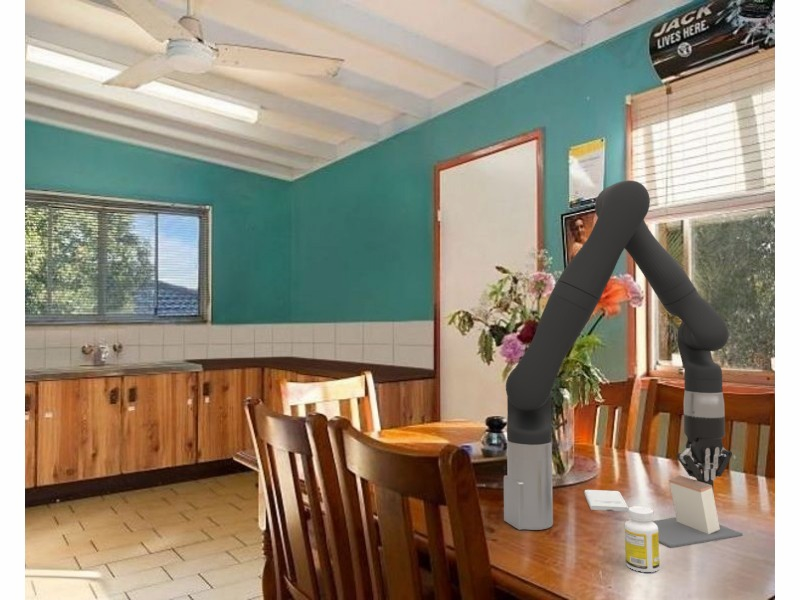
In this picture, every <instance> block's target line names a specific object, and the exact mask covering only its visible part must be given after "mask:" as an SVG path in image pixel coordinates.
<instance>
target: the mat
mask: <svg viewBox="0 0 800 600" xmlns="http://www.w3.org/2000/svg"><path fill="white" fill-rule="evenodd" d="M652 522H654V523H655V524H656V525H657V527H658V537H659V544H660V545H664V546H666V547H667V548H670V549H671V548H672V547H673V548H678V547H677V546H679V547H683V545H684V546H689V544H690V545H695V544H700V543H707V541H708V542H712V541H718V540H723V539H724V540H726V539H730V538H735V537H741V536H743V534H744V533H742V532H740V531H737V530H735V529H733V528H729V527H727V526H725V525H721V524H719V527H720V529H719V530H717V531H715V532H713V533H710V534H707V533H704V532H702V531H699V530H697V529H694V528H692V527H689V526H687V525H684V524H682V523H679V522H677V519H676V517H672V518H664V519H658V520H652ZM673 548H672V549H673Z"/></svg>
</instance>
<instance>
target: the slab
mask: <svg viewBox="0 0 800 600" xmlns="http://www.w3.org/2000/svg"><path fill="white" fill-rule="evenodd" d="M668 481H669V486H670V491H671V492H670V493H671V496H672V503H673V507H674V512H675V518H676V519H677V522H679V523H682V524H684V525H687V526H689V527H692V528H694V529H697V530H699V531H702V532H704V533H707V534H710V533H713V532H715V531H717V530H719V529H720V527H719V525H720V523H719V517H718V512H717V505H716V502H715V496H714V488H713V489H712V485H709V484H706V483H703V482H700V481H697V479H693V478H690V477H686V476H683V475H677V476H674V477H671V478H670V479H668Z"/></svg>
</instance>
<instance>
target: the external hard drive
mask: <svg viewBox="0 0 800 600" xmlns="http://www.w3.org/2000/svg"><path fill="white" fill-rule="evenodd" d="M584 496H585V498H586V501H587V504H588V506H589V509H590V510H591V511H613V512H627V513H629V508H630V507H629V506H628V504H627V503H626V501H625V499H624V497H623V496H622V494H621V492H620V491H618V490H606V489H605V490H601V489H585V490H584Z"/></svg>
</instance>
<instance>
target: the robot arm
mask: <svg viewBox="0 0 800 600" xmlns="http://www.w3.org/2000/svg"><path fill="white" fill-rule="evenodd" d="M650 199H651V198H650V194H649V192H648V189H647V188H646V187H645V185H643V184H642V183H640V182H638V181H635V180H623V181H618V182H616V183H613V184H611V185H609V186H607V187H606V188H604V189H602V190H601V191H600V192H599V194H598V196H597V197H596V200H595V203H594V212H595V214H596V216H597V219H596V221H595V223H594V226H593V227H592V229H591V232H590V233H589V236H588V237H587V239H586V240H585V241H584V243H583V245H582V246H581V248H580V249H579V250H578V251H577V253H576V254H575V255H574V256H573V257H572V258H571V260H570V262H569V263H568V264H567V265H566V267H564V269H563V271H562V273H561V274H560V276H559V278H558V279H557V281H556V283H555V285H554V287H553V289H552V291H551V293H550V295H549V296H548V300H547V301H546V303H545V306H544V308H543V311H542V314H541V316H540V319H539V322H538V324H537V327H536V330H535V334H534V335H533V337H532V341H531V342H530V344H529V346H528V347H527V349H526V351H525V352H524V354H523V356H522V357H521V359H520V360H519V361H518V363H517V364H516V366H515V367H514V368H513V369H512V370H511V372H509V375H508V376H507V378H506V381H505V392H506V396H507V397H506V399H507V400H506V403H507V405H506V406H507V407H506V408H507V415H506V417H507V418H506V420H507V422H506V438H507V439H506V449H507V450H506V451H507V452H506V453H507V454H506V457H507V459H506V462H507V463H506V464H507V466H506V467H507V468H506V469H507V475H506V474H505V475H504V476H503V521H504V522H506V523H507V524H509V525H510V526H512V527H514V528H516V529H517V530H528V531H530V530H531V531H533V530H534V531H538V530H546V529H549V528H551V527H553V526H554V512H553V511H554V509H553V508H554V506H553V503H554V501H553V445H552V444H553V443H552V442H553V441H552V440H553V436H552V431H553V430H552V429H553V428H552V389H553V387H554V384H555V381H556V379H557V377H558V374H559V371H560V368H561V367H562V364H563V362H564V360H565V358H566V356H567V354H568V353H569V351H570V350H571V348H572V346H574V343H576V341H577V339H578V338H579V336H580V335H581V333H582V332H583V331H584V328H585V327H586V325H587V323H588V322H589V320H590V319H591V317H592V315H593V312H594V311H595V309H596V307H597V305H598V304H599V301H600V299H601V298H602V295H603V293H604V291H605V289H606V287H607V285H608V283H609V281H610V279H611V277H612V274H613V272H614V270H615V269H616V266H617V264H618V262H619V259H620V258H621V255H622V253H623V251H624V250H625V251H626V252H627V253H628V255H629V256H630V257H631V259H632V260H633V262H634V263H635V264H636V266H637V267H638V269H639V270H640V272H641V273H642V274H643V276H644V277H645V279H646V281H647V282H648V284H649V285H650V287H651V288H652V291H653V292H654V293H655V295H656V296H657V298H658V299H659V301H660V303H661V304H662V306H663V307H664V308H665V310H666V311H667V312H668V313H669V314H670V315H673V316H675V317H677V318H679V320H681V323H680V324H679V326H678V329H677V333H676V335H677V336H676V339H677V340H676V341H677V347H678V351H679V355H680V359H681V362H682V365H683V369H684V395H683V432H684V436H686V438H687V440H686V444H685V449H684V451H683V452H682V453H681V452H678V453H677V454H676V458H677V461H679V463H680V464H681V466H682V468H683V469H684V470H685V472H686V473H687V475H688V476H689V477H692V478H695V480H697V481H700V482H703V483H706V484H709V485H712V489H713V490H714V481H715V480H716V478H717V477H722V475H723V473H724V471H725V469H726V468H727V466H728V464H729V462H730V460H731V458H732V456H733V451H732V450H727V449H726V448H725V447H724V443H723V440H722V439H724V438H725V437H726V424H725V423H726V418H725V416H726V415H725V399H724V393H723V371H722V367H721V366H720V365H719V364H718V363H716V362H715V361H714V360H713V357H712V353H711V352H715V351H718V350H721V349H723V348H724V347H725V346H726V344H727V343H728V341H729V329H728V326H727V323H726V322H725V320H724V319H723V318H722V316H721V315H720V313H718V312H717V311H716V309H714V308H713V306H712V305H711V304H710V303H709V302H708V301H707V300H706V299H705V298H704V297H702V296H701V295H700V293H699V292H698V290H697V288H696V287H695V286H694V284H693V282H692V280H691V279H690V277H689V275H687V273H686V272H685V270H684V269H683V268H682V266H681V265H680V263H679V262H678V261H677V260H676V259H675V258H674V257H673V256H672V254H670V252H668V251H667V250H666V249H665V247H663V246H662V245H661V243H660V242H659V241H658V240H657V239H656V237H655V236H654V235H653V233H652V232H651V230H650V229H649V227H648V225H647V224H646V221H645V218H646V216H647V214H648V213H649V209H650V205H651V203H650V202H651V200H650Z"/></svg>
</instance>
